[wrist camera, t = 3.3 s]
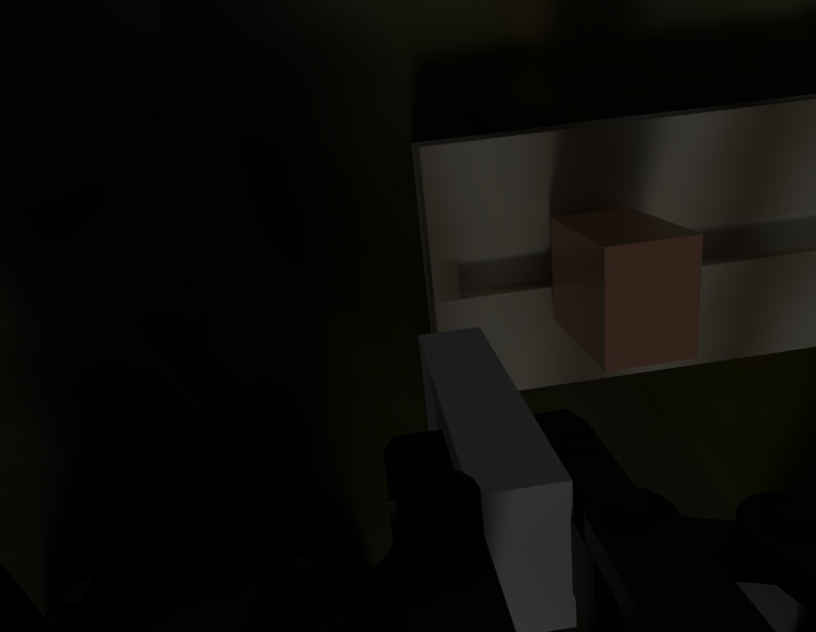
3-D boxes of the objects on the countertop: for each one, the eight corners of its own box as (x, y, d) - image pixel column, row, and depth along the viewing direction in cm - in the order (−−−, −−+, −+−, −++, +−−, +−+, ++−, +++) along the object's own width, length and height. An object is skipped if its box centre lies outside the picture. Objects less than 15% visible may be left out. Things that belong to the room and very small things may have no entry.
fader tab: (544, 310, 26) (605, 372, 20) (540, 211, 24) (604, 247, 19) (616, 300, 26) (697, 358, 20) (616, 202, 25) (702, 234, 19)
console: (435, 376, 28) (444, 402, 26) (411, 142, 25) (419, 147, 22) (945, 302, 30) (999, 319, 27) (986, 73, 26) (1051, 70, 24)
